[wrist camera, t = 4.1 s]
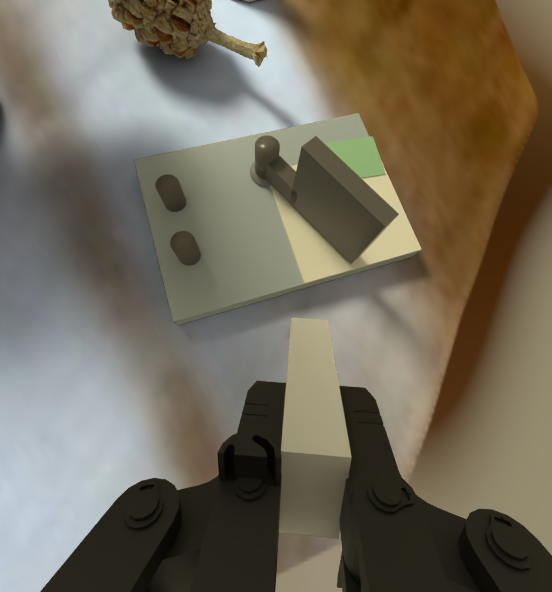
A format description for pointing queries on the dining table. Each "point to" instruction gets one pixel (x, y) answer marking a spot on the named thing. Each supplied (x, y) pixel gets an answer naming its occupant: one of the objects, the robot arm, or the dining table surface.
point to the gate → (326, 195)
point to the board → (254, 221)
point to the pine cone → (179, 27)
